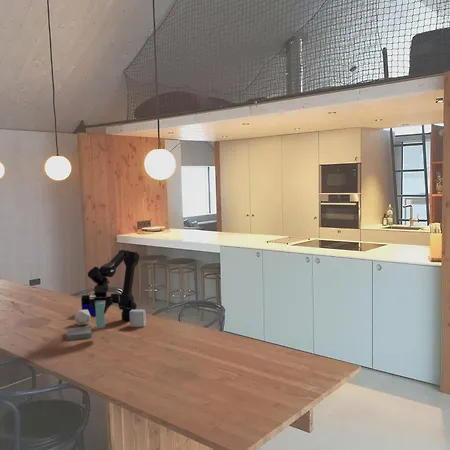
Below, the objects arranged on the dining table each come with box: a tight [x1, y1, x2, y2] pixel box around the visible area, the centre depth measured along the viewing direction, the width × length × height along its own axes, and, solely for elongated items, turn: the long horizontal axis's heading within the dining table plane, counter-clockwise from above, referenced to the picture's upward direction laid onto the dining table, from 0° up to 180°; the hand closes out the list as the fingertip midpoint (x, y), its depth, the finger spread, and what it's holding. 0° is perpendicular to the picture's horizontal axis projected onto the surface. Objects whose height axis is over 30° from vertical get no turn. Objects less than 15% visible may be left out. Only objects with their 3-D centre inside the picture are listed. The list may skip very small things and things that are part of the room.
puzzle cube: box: [80, 294, 105, 317], centre depth 296 cm, size 10×10×10 cm
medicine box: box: [129, 309, 147, 328], centre depth 269 cm, size 8×4×9 cm, turn 84°
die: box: [74, 309, 92, 327], centre depth 274 cm, size 8×9×10 cm
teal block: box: [95, 301, 106, 329], centre depth 247 cm, size 4×6×12 cm, turn 14°
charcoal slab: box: [66, 325, 92, 341], centre depth 255 cm, size 12×12×3 cm
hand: (99, 313), depth 246 cm, fingers closed on teal block, 4 cm apart
